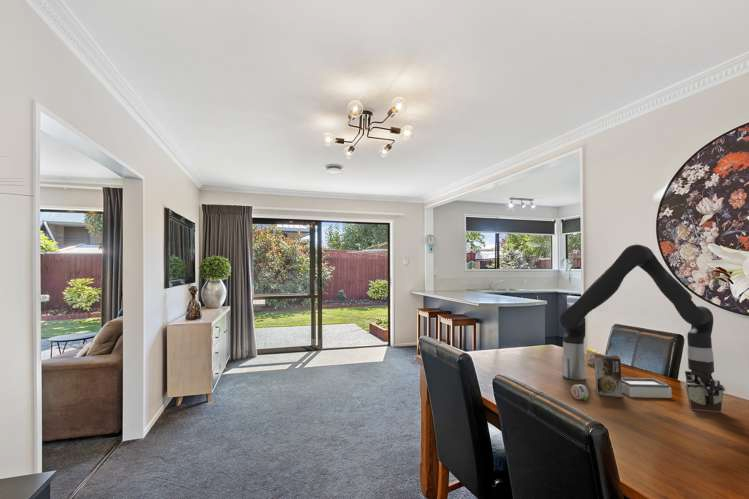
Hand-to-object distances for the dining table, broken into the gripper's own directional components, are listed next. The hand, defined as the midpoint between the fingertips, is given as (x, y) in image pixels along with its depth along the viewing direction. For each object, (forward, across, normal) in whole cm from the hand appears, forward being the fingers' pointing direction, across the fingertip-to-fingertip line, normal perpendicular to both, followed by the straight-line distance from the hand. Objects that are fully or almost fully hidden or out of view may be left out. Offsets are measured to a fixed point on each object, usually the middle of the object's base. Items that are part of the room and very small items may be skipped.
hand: (703, 402), depth 141 cm
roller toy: (+2, -8, -42) cm, 43 cm away
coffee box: (+2, -15, -27) cm, 31 cm away
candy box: (+2, -57, -10) cm, 58 cm away
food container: (+2, -1, 0) cm, 3 cm away
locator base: (+2, -17, -12) cm, 21 cm away
